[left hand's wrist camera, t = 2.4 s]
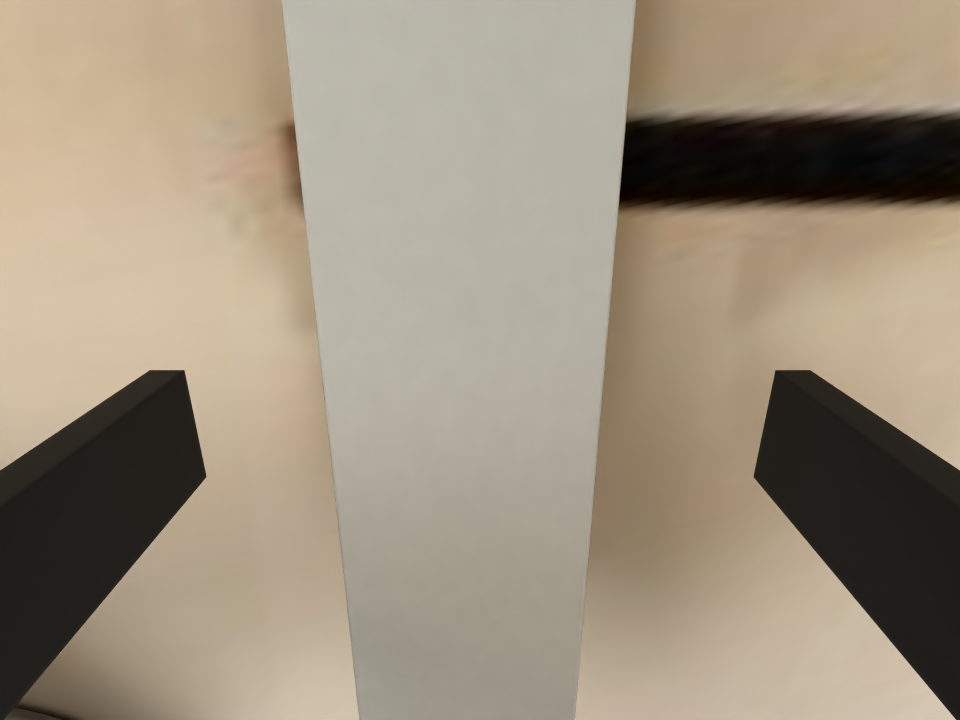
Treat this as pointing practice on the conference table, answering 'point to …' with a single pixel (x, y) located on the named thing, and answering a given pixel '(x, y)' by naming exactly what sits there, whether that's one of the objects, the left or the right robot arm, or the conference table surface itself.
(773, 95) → the conference table surface
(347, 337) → the bar
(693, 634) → the conference table surface
